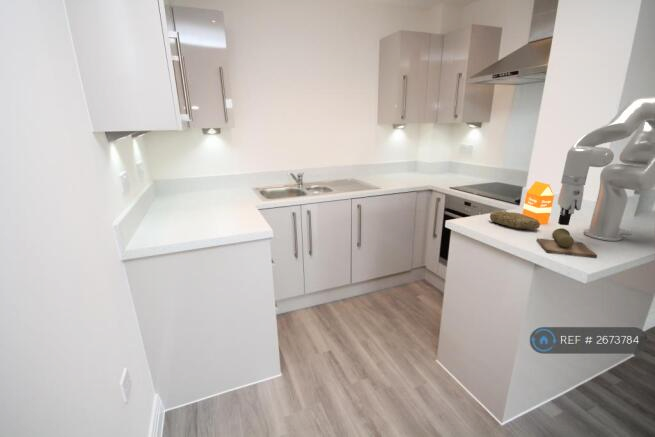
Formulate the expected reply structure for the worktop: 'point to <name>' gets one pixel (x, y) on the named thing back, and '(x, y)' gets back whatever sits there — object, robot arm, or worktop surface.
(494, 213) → the sponge
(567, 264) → the worktop surface
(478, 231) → the worktop surface
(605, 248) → the worktop surface
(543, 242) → the walnut board
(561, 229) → the cork
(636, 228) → the worktop surface
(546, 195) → the orange juice
